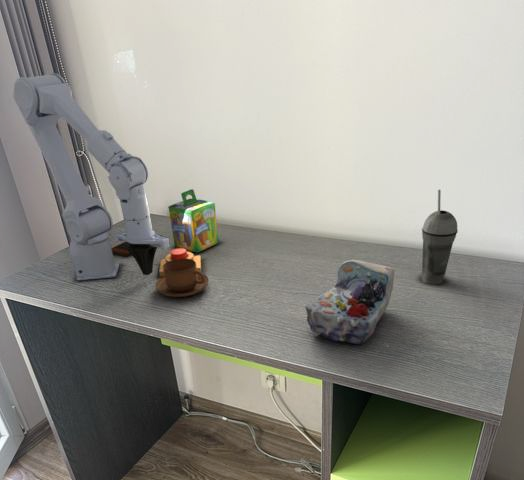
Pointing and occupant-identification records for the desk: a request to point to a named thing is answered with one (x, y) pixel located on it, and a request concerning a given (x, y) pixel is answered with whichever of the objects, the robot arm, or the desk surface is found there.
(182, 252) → the button
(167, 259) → the box
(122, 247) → the smartphone
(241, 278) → the desk surface
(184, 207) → the chalk box
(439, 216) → the beverage cup
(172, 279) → the cup and saucer
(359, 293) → the cell model
